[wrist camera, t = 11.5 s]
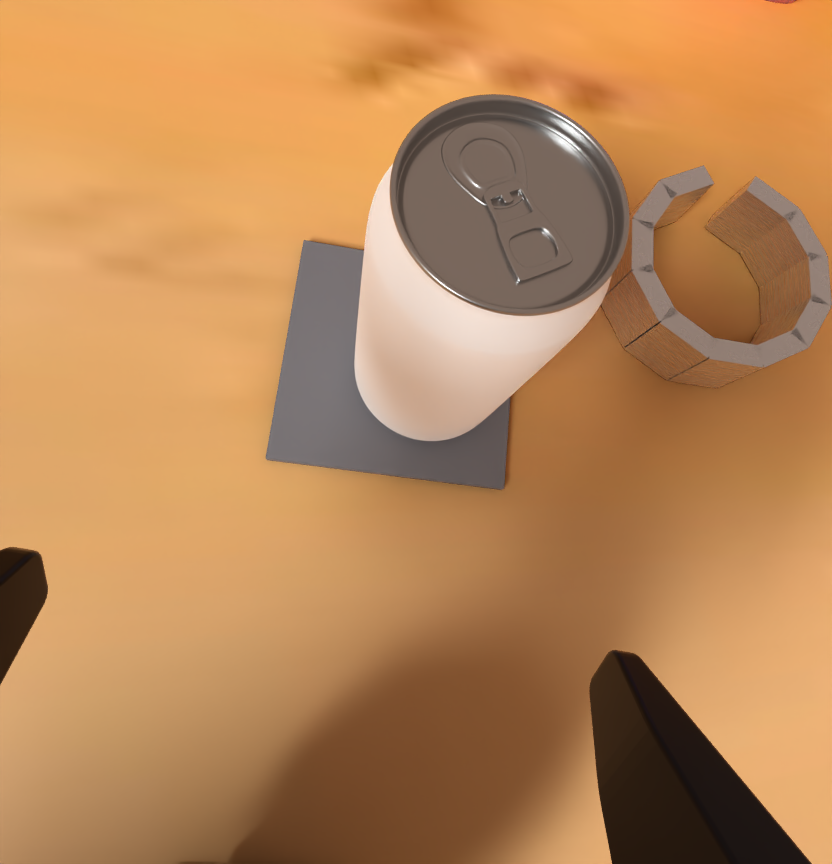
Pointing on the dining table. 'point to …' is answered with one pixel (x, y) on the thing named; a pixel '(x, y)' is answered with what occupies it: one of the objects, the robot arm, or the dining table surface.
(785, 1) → the teakettle
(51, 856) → the dining table surface
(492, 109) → the can
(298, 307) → the mat
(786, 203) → the holder
